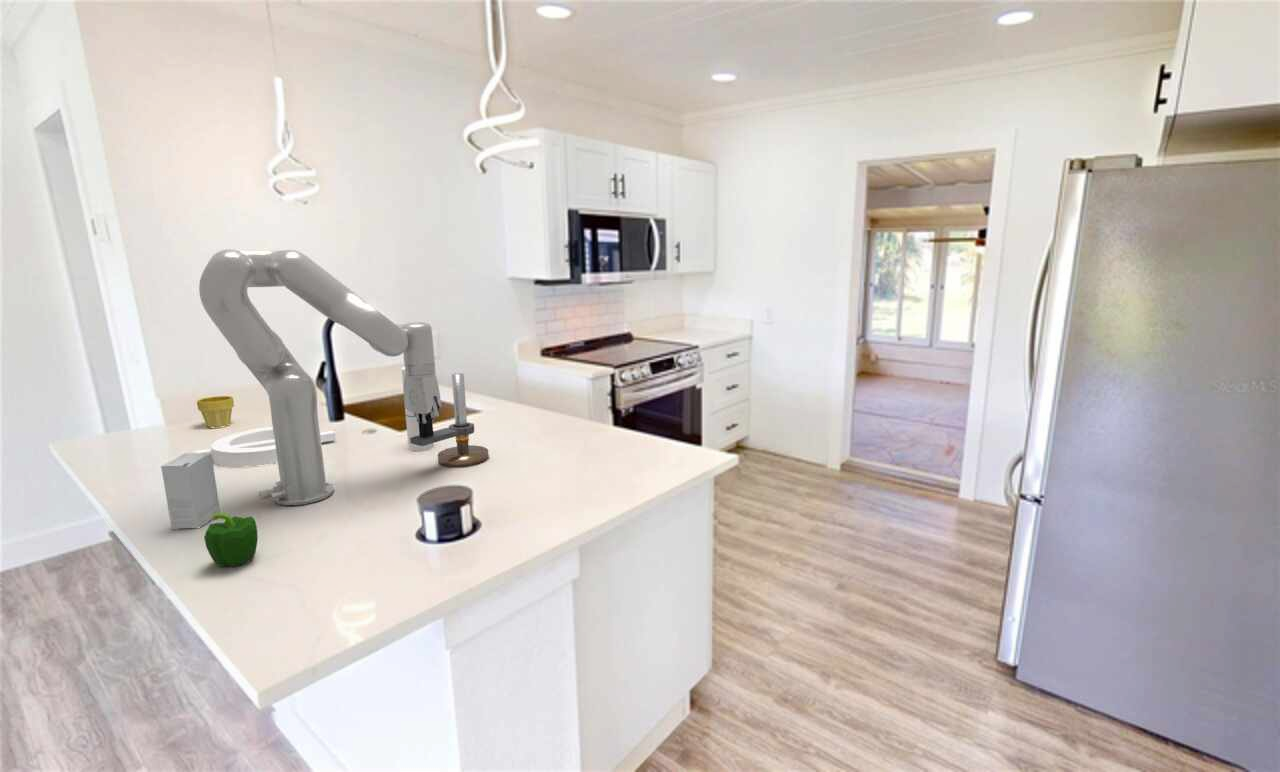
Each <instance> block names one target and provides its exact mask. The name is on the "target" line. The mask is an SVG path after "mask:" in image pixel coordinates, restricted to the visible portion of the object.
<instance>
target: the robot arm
mask: <svg viewBox="0 0 1280 772" xmlns="http://www.w3.org/2000/svg"><path fill="white" fill-rule="evenodd" d="M272 287H273V288H275V287H276V288H277V287H285V288H286V289H288V290H289V291H290V292H292V294H294V295H296V296H297V297H298V298H299V299H301V300H303V301H304V302H305V303H307V304H308V305H310V306H311V307H313V308H314V309H315V310H316V311H318V312H319V313H321V314H322V315H323V316H324V317H326V318H328V319H329V320H331V321H332V322H334V323H336V324H338V325H340V326H343V327H344V328H346V329H348V330H349V331H350V332H353V333H354V334H355V335H356V336H358V337H359V338H361V340H364V341H365V342H367V343H368V345H369V346H370V347H371V349H373V350H374V351H375V352H378V353H380V354H382V355H383V356H386V357H392V358H394V357H399V356H400V355H403V362H404V364H403V365H404V367H405V374H406V375H405V377H404V392H403V401H404V402H403V404H404V410H405V409H406V410H408V411H410V412H411V413H413V414H414V415H415V416H416V419H417V422H418V424H419V434H420V437H423V438H426V437H430V436H433V431H434V424H433V422H434V419H435V418H439V417H440V414H439V411H441V408H442V402H441V401H442V399H441V392H440V387H439V383H438V379H437V378H438V377H437V374H436V361H435V350H434V341H433V340H434V339H433V329H432V326H431V325H430V324H429V323H428V322H420V321H419V322H418V321H416V322H408V323H407V322H406V323H404V324H401V323H400V324H397V323H394V322H393V321H392V320H391V319H389V318H388V317H386V315H384V314H382V313H381V312H380V311H378V309H376V308H374V307H373V306H372V305H371V304H369V303H368V302H366V301H365V300H364V299H363V298H362V297H360V296H359V295H358V294H356V293H355V292H354V291H353V290H352V289H350V288H349V287H347V286H346V285H344V284H343V283H342V282H341V281H339V280H338V279H337V278H335V276H333V275H332V274H330V273H329V272H328V271H326V270H325V269H324V268H322V266H320V265H318V264H317V263H316V262H315V261H314V260H313V259H311V258H310V257H308V256H307V255H305V254H304V253H303V252H300V251H297V250H295V249H286V250H237V249H230V248H228V249H223V250H219V251H218V252H215V253H214V254H213V256H212V257H210V259H209V261H208V262H207V264H206V266H205V267H204V269H203V271H202V273H201V276H200V279H199V285H198V291H199V298H200V302H201V305H202V307H203V308H204V310H205V312H206V313H207V316H208V317H209V318H210V319H211V321H212V323H213V324H214V325H215V326H216V327H217V329H218V331H219V332H220V333H221V334H222V335H223V337H224V338H225V339H226V341H227V342H228V344H229V345H230V346H231V348H233V350H234V351H235V354H236V355H237V357H238V359H239V360H240V362H241V363H242V364H244V366H245V367H247V369H248V370H249V371H250V372H251V374H252V375H253V376H254V377H255V379H256V380H257V381H258V382H259V384H261V386H262V387H263V388H264V390H265V391H266V392H267V395H268V400H269V407H270V416H271V422H272V424H271V425H272V427H273V432H274V438H275V446H276V453H277V460H278V463H277V467H278V472H279V473H278V474H279V480H280V481H275V485H274V486H273V487H272V488H271V489H266V490H262V491H259V492H258V498H259V499H260V501H262V500H267V499H269V498H270V499H271V500H274V501H275V503H276V504H279V505H280V504H281V506H287V505H295V506H302V504H304V505H309V504H313V503H317V502H319V501H323V500H325V499H327V498H329V497H330V496H332V495H333V493H334V492H335V488H334V485H333V484H331V483H327V481H326V480H327V479H326V473H325V464H324V456H323V447H322V446H321V443H322V442H321V437H320V432H321V429H320V424H319V413H318V394H317V388H316V385H315V382H314V380H313V378H312V377H311V376H310V375H309V374H308V373H307V372H306V371H305V370H304V369H303V367H302V366H301V365H300V363H299V362H298V361H297V359H296V358H295V356H294V355H293V354H292V353H291V352H290V350H289V349H288V348H287V347H286V345H285V344H284V342H283V340H282V338H281V337H280V336H279V335H278V334H277V333H276V332H275V331H274V330H273V329H272V328H271V327H270V325H269V324H268V323H267V322H266V320H265V319H264V318H263V317H262V316H261V314H260V312H259V311H258V309H257V308H256V307H255V306H254V304H253V303H252V301H251V300H250V297H249V294H248V288H272ZM331 494H332V495H331ZM328 496H329V497H328ZM322 499H323V500H322ZM308 503H309V504H308Z"/></svg>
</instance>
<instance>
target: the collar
mask: <svg viewBox="0 0 1280 772" xmlns="http://www.w3.org/2000/svg"><path fill="white" fill-rule="evenodd" d="M474 433H475V424H474V423H471V422H467V427H464V428H456V426H455V423H452V424H449V425H448V427H446V428H441V429H437V430H433V436H430V437H426V438H423V437H420V435H419V436H415V437H411V438H410V442H411V443H412V444H415V445H419V446H425V445H428V444H432V443H433V444H434V443H438V442H441V441H445V440H448V439H451V438H456V436H465V435H472V434H474Z"/></svg>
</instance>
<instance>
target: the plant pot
mask: <svg viewBox="0 0 1280 772" xmlns="http://www.w3.org/2000/svg"><path fill="white" fill-rule="evenodd" d="M234 401H235V400H234V397H233V396H232V395H231V396H229V395H217V396H210V397H203V398H200V399H198V400H197V401H196V405H197V410H198V411H199V412H201V415H202V418H203V420H204V422H205V425H206V428H208V427H221V426H225V425H228V424H230V425H231V422H232V421H231V419H232V412H233V411H232V409H233V408H234V406H235V404H234V403H235V402H234ZM221 428H222V427H221Z"/></svg>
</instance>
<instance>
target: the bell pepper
mask: <svg viewBox="0 0 1280 772" xmlns="http://www.w3.org/2000/svg"><path fill="white" fill-rule="evenodd" d="M212 518H213V519H212V520H214V521H217V520H218V519H222V520H224V522H215V523H210V525H209V526H208V528H207V529H206V532H205V534H204V538H203V539H204V542H205V547H206V550H207V552H208V553H209V556H210V558H211V560H212V561H213V562H214V564H215V565H216V566H218V567H226V566H229V567H238V566H242V565H244V564H247V563H249V562H250V561H251V560H253V558H254V557H255V555H256V551H257V547H258V546H257V545H258V528H257V527H258V526H257V524H256V523H257V522H256V520H255V518H253V516H247V517H240V516H239V517H238V516H235V515H234V516H230V515H229V514H226V513H219V514H215V515H213V516H212ZM248 561H249V562H248Z"/></svg>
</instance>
